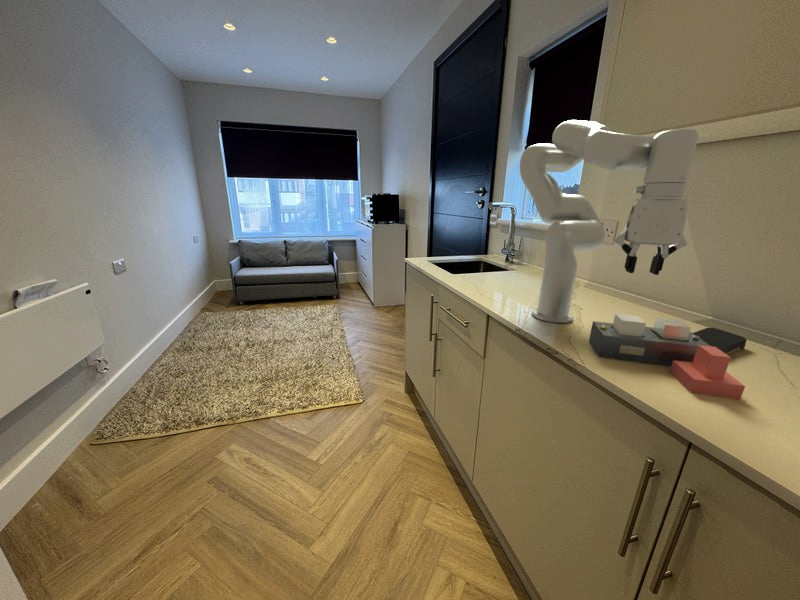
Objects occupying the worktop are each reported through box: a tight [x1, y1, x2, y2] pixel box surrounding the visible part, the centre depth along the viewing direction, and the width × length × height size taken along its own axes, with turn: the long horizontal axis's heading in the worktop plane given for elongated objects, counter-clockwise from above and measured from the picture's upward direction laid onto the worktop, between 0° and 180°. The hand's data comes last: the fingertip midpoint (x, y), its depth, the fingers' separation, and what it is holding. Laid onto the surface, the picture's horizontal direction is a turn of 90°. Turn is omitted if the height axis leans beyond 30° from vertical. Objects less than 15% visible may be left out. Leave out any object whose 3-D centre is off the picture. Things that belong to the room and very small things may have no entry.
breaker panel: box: [588, 317, 710, 368], centre depth 79 cm, size 10×22×10 cm, turn 73°
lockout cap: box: [669, 345, 746, 400], centre depth 67 cm, size 8×8×8 cm
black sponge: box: [692, 327, 748, 355], centre depth 85 cm, size 16×8×4 cm, turn 115°
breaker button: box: [612, 313, 647, 337], centre depth 80 cm, size 5×5×4 cm
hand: (641, 272), depth 76 cm, fingers open, 4 cm apart
